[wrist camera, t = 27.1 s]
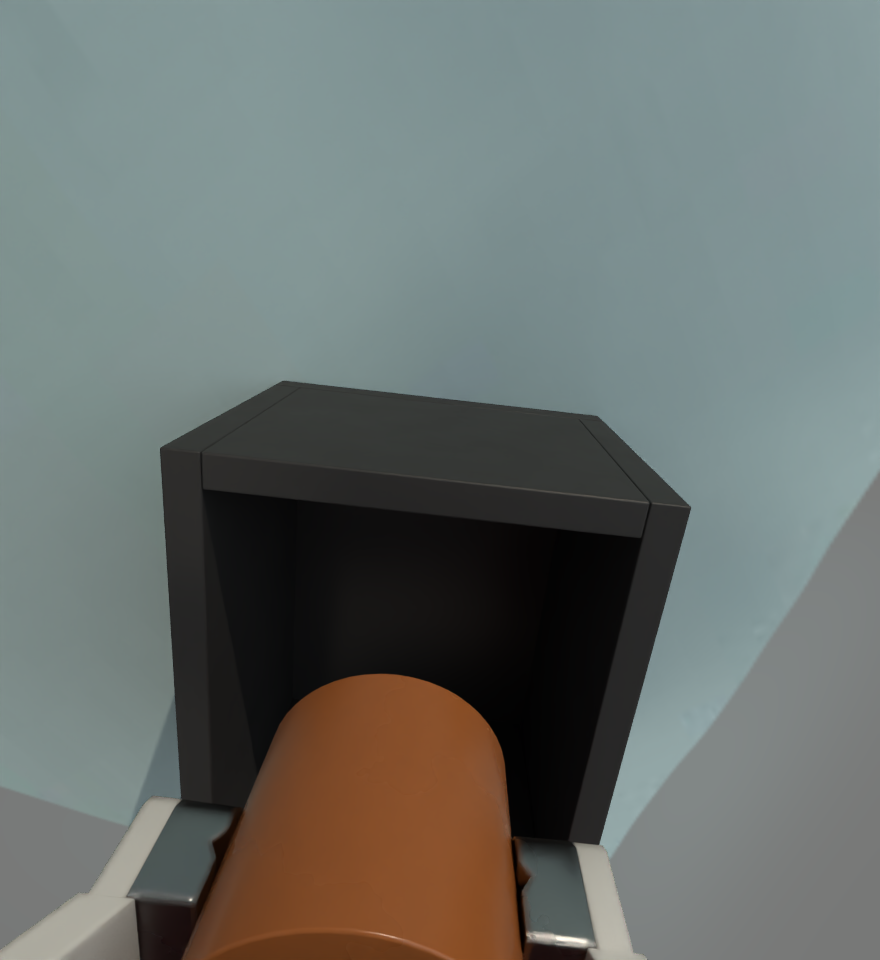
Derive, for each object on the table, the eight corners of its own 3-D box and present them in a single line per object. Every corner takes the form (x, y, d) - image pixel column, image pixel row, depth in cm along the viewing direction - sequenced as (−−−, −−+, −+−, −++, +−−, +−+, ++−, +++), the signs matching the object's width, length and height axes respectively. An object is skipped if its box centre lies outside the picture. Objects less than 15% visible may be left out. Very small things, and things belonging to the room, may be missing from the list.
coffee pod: (228, 786, 11) (93, 1074, 7) (354, 628, 10) (278, 869, 6) (414, 889, 12) (391, 1204, 8) (553, 755, 11) (612, 1046, 7)
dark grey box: (282, 380, 23) (158, 446, 14) (598, 415, 23) (692, 507, 14) (278, 697, 28) (186, 903, 19) (535, 726, 28) (572, 946, 19)
